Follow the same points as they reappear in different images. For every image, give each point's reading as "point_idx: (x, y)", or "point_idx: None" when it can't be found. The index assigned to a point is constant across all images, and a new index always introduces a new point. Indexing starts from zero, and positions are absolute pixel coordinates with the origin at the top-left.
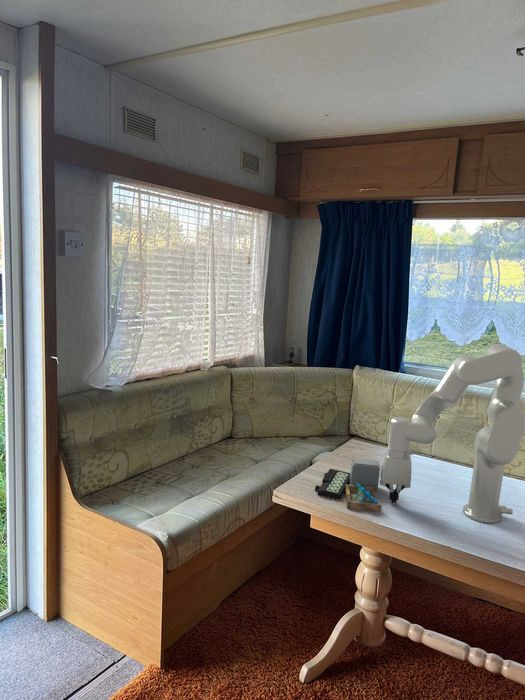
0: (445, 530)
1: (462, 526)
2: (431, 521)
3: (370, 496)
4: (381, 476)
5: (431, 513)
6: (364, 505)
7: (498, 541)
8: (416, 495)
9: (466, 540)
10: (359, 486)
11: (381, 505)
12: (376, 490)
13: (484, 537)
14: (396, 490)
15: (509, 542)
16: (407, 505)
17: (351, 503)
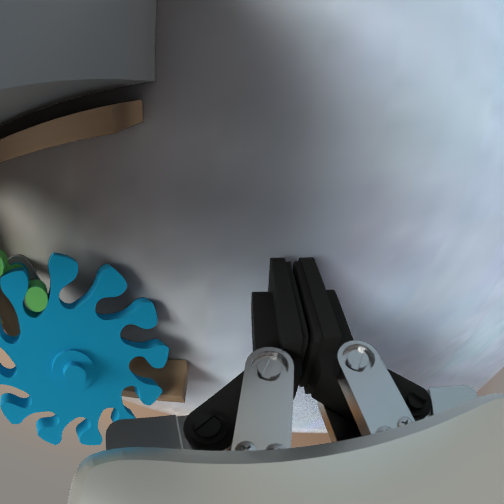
0: None
1: (476, 352)
2: (410, 366)
3: (103, 404)
4: (83, 466)
5: (455, 311)
6: None
7: (486, 372)
8: (496, 96)
9: None
10: (18, 416)
11: (184, 401)
12: (121, 129)
13: (477, 373)
14: (320, 399)
15: (499, 365)
16: (389, 264)
17: None
